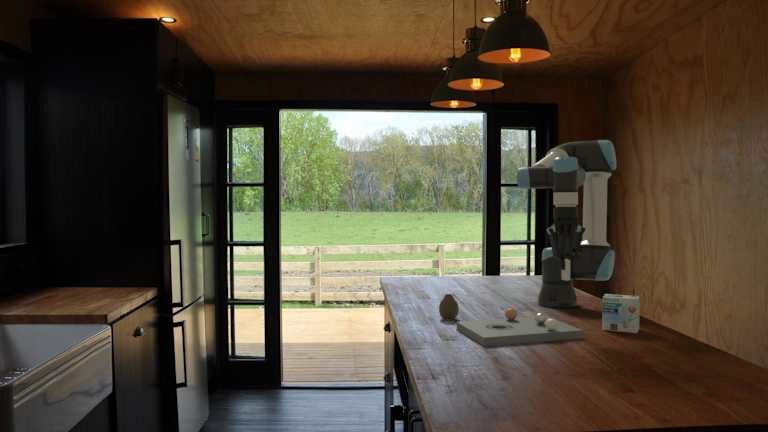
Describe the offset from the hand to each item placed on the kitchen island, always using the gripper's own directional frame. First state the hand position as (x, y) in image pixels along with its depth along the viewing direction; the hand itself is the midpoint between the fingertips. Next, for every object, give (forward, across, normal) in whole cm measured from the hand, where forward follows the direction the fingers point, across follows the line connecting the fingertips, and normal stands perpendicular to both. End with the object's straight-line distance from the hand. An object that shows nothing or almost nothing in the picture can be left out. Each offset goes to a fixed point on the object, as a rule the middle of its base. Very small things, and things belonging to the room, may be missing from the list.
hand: (565, 279), depth 182 cm
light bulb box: (+16, -17, +4) cm, 24 cm away
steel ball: (+12, +9, 0) cm, 15 cm away
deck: (+16, +17, 0) cm, 23 cm away
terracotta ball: (+12, +15, -9) cm, 21 cm away
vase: (+16, +30, -27) cm, 44 cm away
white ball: (+12, +10, +8) cm, 18 cm away
